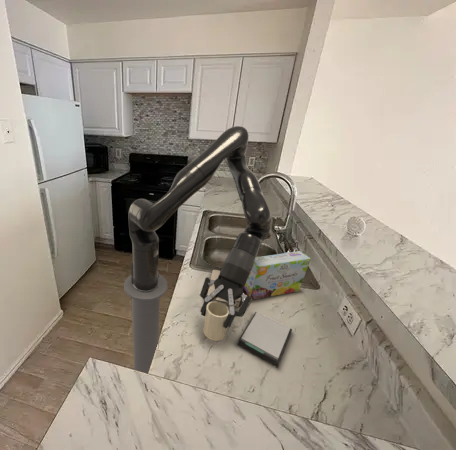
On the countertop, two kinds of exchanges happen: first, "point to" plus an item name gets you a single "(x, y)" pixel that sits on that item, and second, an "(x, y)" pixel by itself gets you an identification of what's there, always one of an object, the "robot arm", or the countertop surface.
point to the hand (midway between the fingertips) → (213, 321)
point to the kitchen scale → (265, 338)
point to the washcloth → (213, 277)
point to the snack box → (276, 274)
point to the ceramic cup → (215, 320)
